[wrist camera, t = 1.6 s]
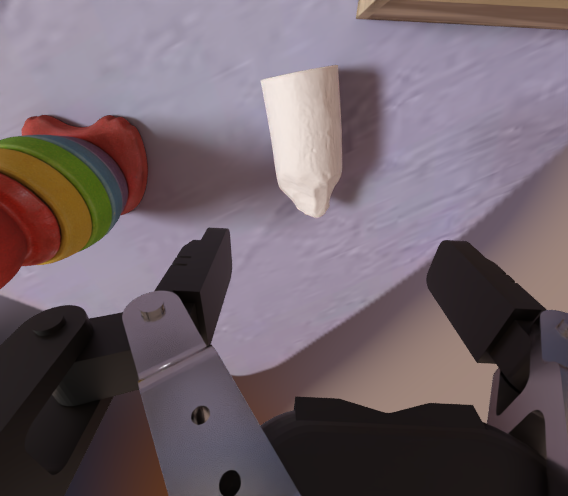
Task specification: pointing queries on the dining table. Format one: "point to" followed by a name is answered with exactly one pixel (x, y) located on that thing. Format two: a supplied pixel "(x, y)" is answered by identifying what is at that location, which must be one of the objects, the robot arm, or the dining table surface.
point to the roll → (306, 135)
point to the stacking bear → (65, 188)
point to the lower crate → (470, 12)
